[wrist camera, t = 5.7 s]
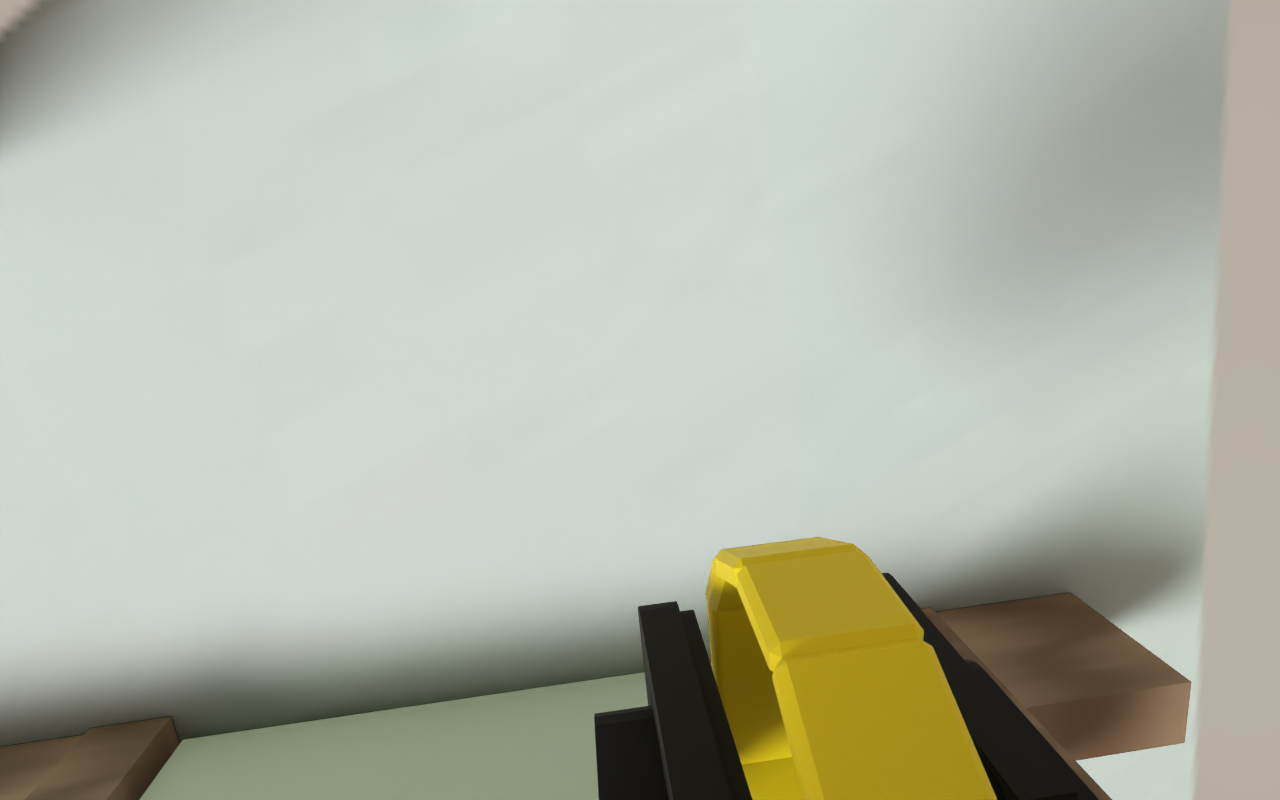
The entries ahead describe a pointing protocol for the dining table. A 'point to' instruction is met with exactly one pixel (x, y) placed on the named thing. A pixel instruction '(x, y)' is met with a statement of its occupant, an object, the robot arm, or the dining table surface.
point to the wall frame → (988, 634)
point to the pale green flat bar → (413, 751)
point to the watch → (832, 680)
